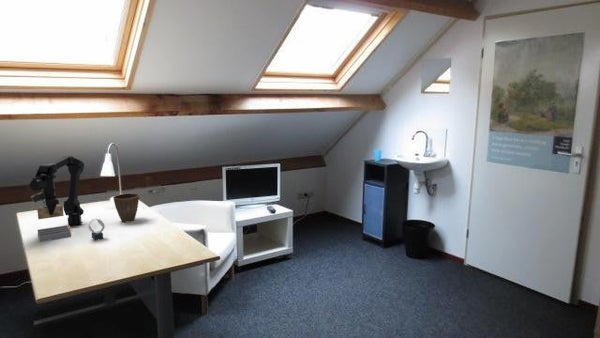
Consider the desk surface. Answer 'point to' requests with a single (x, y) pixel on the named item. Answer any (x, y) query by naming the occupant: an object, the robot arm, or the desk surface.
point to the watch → (97, 234)
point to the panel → (44, 213)
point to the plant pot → (126, 206)
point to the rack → (54, 233)
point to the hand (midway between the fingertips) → (50, 214)
